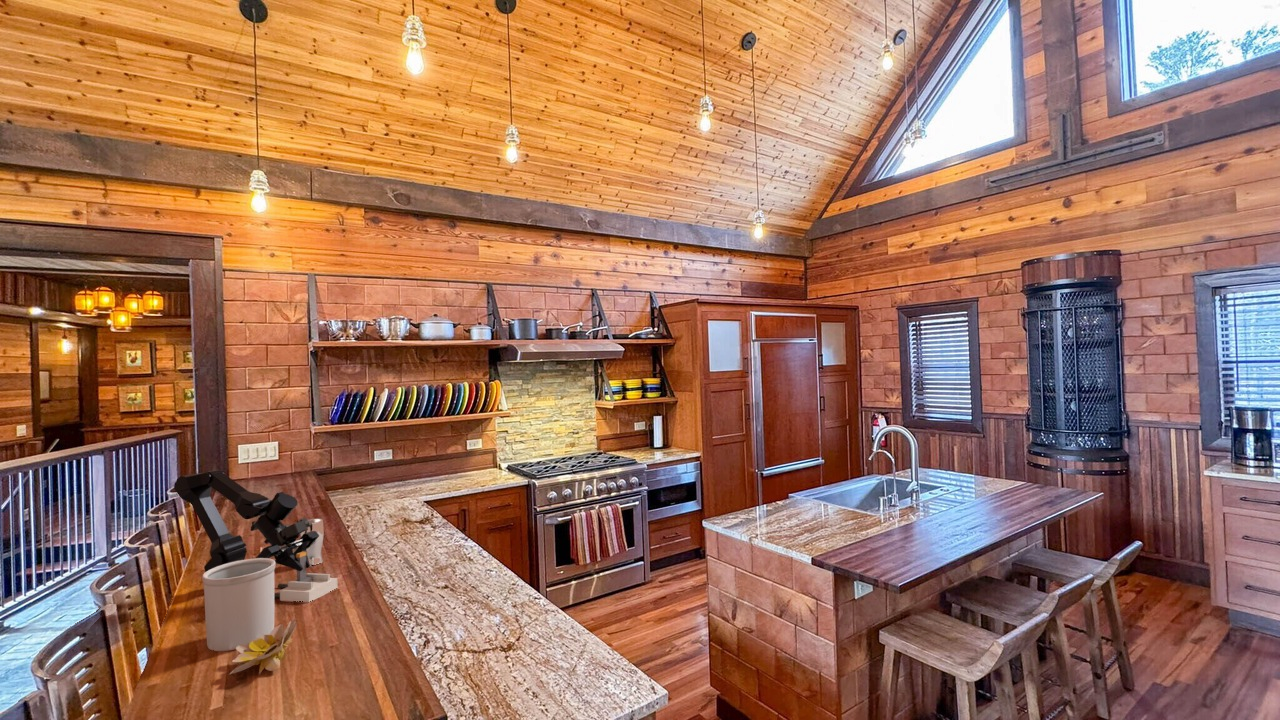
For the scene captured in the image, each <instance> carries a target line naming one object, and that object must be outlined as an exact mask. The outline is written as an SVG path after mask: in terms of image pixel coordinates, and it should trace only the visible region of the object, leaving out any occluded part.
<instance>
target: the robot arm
mask: <svg viewBox="0 0 1280 720" xmlns="http://www.w3.org/2000/svg"><path fill="white" fill-rule="evenodd" d="M173 487H174V491H175V492H176V494H177V495H178V497H180V499H182V500H183V501H185V502H187V503H189V504H191V506H192V508H193V510H194V512H195V514H196V516H197V518H198V520H199V521H200V524H201V525H202V527H203V529H204V530H205V533H206V536H207V537H208V538H209V540H210V541H209V542H210V543H211V544H210V545H211V546H210V549H209V554H210V559H209V560H208V561H207V563H205V565H204V567H203V569H204V571H205V572H207V571H208V570H210V569H212V568H215V567H217V566H220V565H223V564H227V563H231V562H235V561H240V560H246V559H245V558H246V556H247V555H246V554H247V553H248V550H247V547H246V546H247V544H246V543H245V542H244V540H243V537H242V536H241V535H240V534H239V535H233V534H231V532H230V531H229V529H228V528H227V525H226V523H225V521H224V520H223V518H222V515H221V514H220V512H219V510H218V508H217V506H216V505H215V502H214V500H213V499H212V497H211V491H212V489H213V490H215V491H216V492H217V493H218V494H221V495H222V496H223V497H224V498H225V499H227V500H228V501H229V502H231V503H232V504H234V508H235V511H236V512H237V514H239V516H240V517H241V518H242V519H244V520H251V519H254V518H257V519H256V520H253V521H252V522H251V526H250V531H251V532H253V531H257V530H258V531H259V533H260V534H261V535H263V537H264V539H265V540H264V541H263V543H264V544H265V545H268V544H270V545H269V546H266V547H263V549H262V550H260V552H259V553H258V554H257V555H256V557H255V558H269V559H271V558H273V557H274V560H275V562H276V564H277V565H280V566H284V567H287V568H290V569H293V570H295V571H297V570H298V571H302V570H303V567H302V565H301V564H300V562H299V561H298V560H297V557H296V554H297V553H300V552H306V549H308V548H309V547H310V546H311V545H312V544H313V543H314V542H315V540H316V539H317V538H318V537H319V535H318V533H317V532H316V531H310V532H308V533H305V534H303V535H302V537H301V533H302V532H304V531H307V530H308V527H310V523H309V521H308V520H309V519H307V518H306V517H304V518H301V519H299V520H297V521H296V522H295V523H292V524H286V525H285V524H284V522H283V521H284V520H285V519H287V518H288V517H289V516H290V514H291V513H292V512H293V511H294V509H295V508H296V507H297V506H298V499H297V498H296V497H295V496H292V495H291V494H288V493H287V494H286V493H285V492H284V491H280V492H277V493H276V494H275V495H274V497H273V498H272V499H269V498H268V497H267V496H265V495H262V494H261V493H256V492H253V491H252V492H251V491H249V490H247V489H246V488H245V487H243V486H242V485H241V484H239V483H238V482H236V481H235V480H233V479H232V478H230V477H229V475H227V474H225V472H224V471H223V470H221V469H215V470H207V471H204V472H199V473H192V474H186V475H181V476H179V477H177V479H176V480H175V482H174V484H173ZM299 537H300V538H299ZM297 539H298V540H297ZM310 567H311V566H310V563H309V560H308V556H307V552H306V569H309V568H310ZM205 572H204V573H205Z"/></svg>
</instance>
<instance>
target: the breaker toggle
mask: <svg viewBox="0 0 1280 720" xmlns="http://www.w3.org/2000/svg"><path fill="white" fill-rule="evenodd" d="M296 557H297V560H298V561H299V562H300V564H301V565H302V567H303V570H302V571H298V570H296V580H295V581H300V582H309V581H311V580H312V577H306V574H307V568H306V552H300V553H297V554H296Z"/></svg>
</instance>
